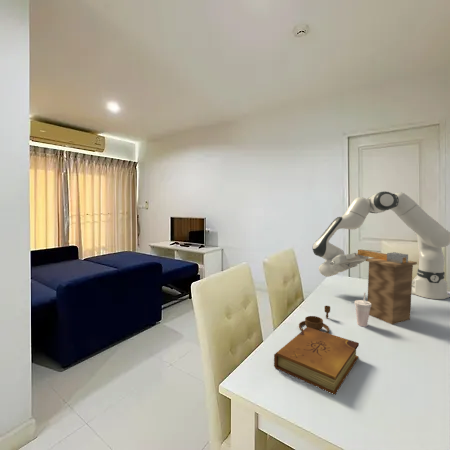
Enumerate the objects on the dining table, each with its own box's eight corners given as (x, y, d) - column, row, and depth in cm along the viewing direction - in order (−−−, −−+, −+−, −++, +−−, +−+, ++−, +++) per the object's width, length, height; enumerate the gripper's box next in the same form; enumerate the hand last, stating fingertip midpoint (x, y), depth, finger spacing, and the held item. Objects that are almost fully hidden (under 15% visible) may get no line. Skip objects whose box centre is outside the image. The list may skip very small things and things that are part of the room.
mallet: (355, 254, 132) (356, 247, 132) (362, 254, 134) (363, 247, 134) (400, 263, 112) (400, 255, 112) (407, 262, 114) (408, 254, 114)
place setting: (289, 323, 115) (289, 310, 114) (326, 317, 121) (326, 304, 121) (315, 343, 98) (315, 328, 98) (357, 334, 105) (357, 320, 104)
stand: (363, 313, 124) (365, 258, 122) (383, 308, 129) (385, 256, 127) (393, 326, 111) (395, 265, 109) (413, 320, 117) (416, 262, 115)
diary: (305, 340, 101) (305, 326, 100) (358, 359, 88) (358, 342, 88) (273, 368, 83) (274, 351, 83) (334, 396, 71) (335, 376, 71)
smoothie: (372, 328, 109) (374, 295, 108) (356, 327, 110) (357, 294, 109) (367, 322, 115) (369, 290, 114) (352, 320, 116) (353, 289, 115)
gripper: (325, 258, 140) (344, 249, 129) (353, 255, 148) (373, 246, 137) (329, 270, 137) (349, 261, 126) (357, 266, 146) (378, 257, 134)
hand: (362, 253), depth 132 cm, fingers open, 8 cm apart
